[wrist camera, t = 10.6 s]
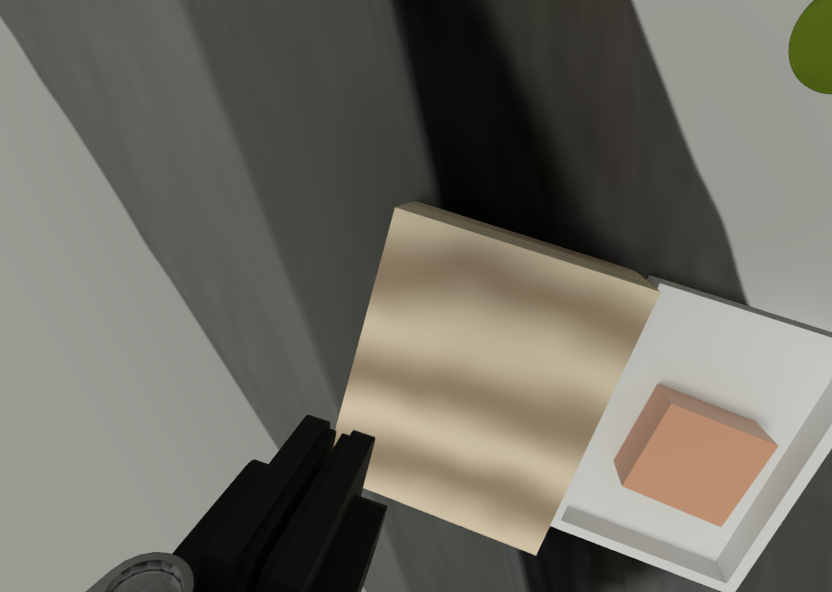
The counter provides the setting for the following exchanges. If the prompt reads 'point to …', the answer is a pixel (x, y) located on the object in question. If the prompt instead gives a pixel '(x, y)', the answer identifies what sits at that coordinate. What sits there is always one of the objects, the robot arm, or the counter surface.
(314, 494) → the robot arm
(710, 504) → the terracotta tile
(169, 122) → the counter surface
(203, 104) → the counter surface
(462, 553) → the counter surface
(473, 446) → the birch board
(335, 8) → the counter surface
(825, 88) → the soap dispenser
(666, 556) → the box
